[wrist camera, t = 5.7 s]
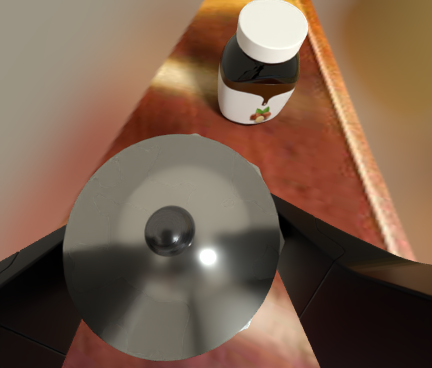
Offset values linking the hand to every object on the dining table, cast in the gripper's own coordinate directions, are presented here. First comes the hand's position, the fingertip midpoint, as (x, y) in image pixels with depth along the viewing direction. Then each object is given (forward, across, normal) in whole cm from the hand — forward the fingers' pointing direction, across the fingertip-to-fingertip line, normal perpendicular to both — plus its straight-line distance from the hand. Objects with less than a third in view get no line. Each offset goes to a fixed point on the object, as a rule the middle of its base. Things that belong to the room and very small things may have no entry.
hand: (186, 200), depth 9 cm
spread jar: (+23, -10, -3) cm, 25 cm away
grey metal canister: (+4, 0, +6) cm, 7 cm away
